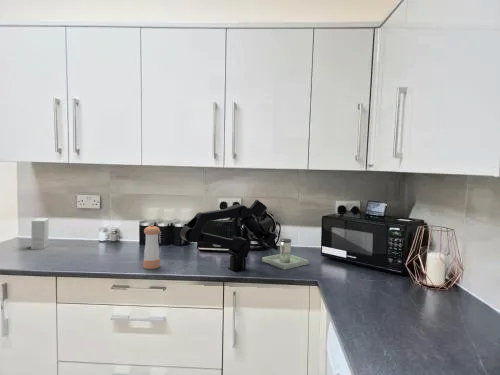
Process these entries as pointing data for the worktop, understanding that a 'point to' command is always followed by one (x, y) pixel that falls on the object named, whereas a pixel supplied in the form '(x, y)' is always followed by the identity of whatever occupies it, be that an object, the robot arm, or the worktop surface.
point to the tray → (293, 263)
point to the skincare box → (39, 233)
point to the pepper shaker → (151, 248)
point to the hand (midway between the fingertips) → (271, 247)
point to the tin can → (285, 250)
